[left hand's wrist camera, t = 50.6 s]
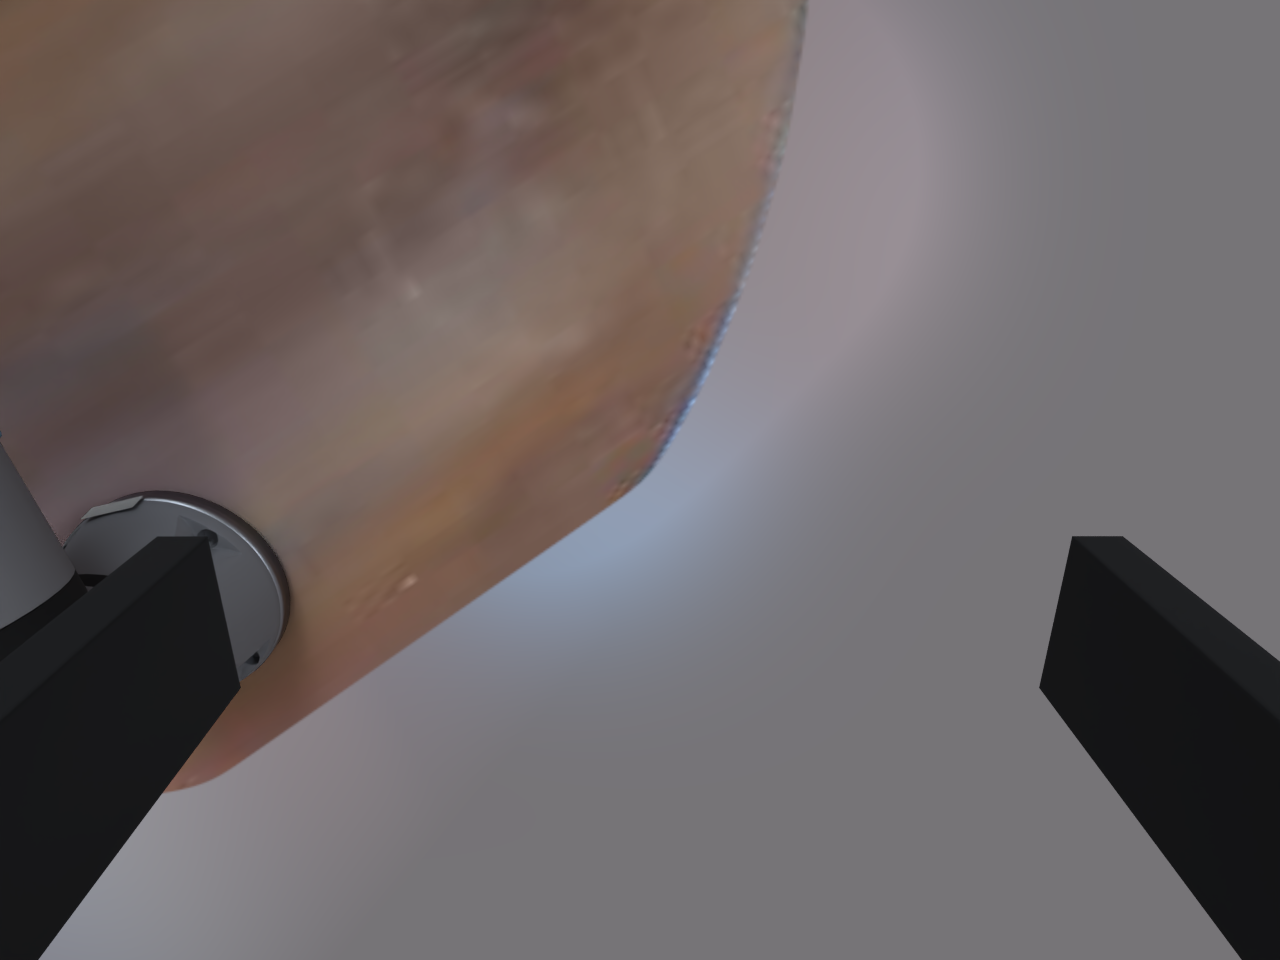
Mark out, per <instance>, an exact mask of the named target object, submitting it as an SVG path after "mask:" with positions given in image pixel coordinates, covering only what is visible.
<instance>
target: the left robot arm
mask: <svg viewBox="0 0 1280 960" xmlns="http://www.w3.org/2000/svg"><path fill="white" fill-rule="evenodd" d="M1 436H2V434H1V431H0V437H1ZM84 518H86V519H85V520H84V521H83V522H82V523H80V524H79V525H78V526H77V528H76V529H75V530H74V531H73V532H72V534H71V535H70V536H69V537H68V539H67V540H66V542H65V543H64V545H63V547H62V546H61V544H60V542H59V541H58V539H57V537H56V535H55V534H54V532H53V530H52V529H51V527H50V525H49V524H48V522H47V520H46V519H45V517H44V515H43V514H42V512H41V510H40V508H39V507H38V505H37V503H36V502H35V500H34V498H33V497H32V495H31V493H30V492H29V490H28V488H27V487H26V485H25V483H24V481H23V480H22V478H21V476H20V475H19V473H18V471H17V470H16V468H15V466H14V465H13V463H12V461H11V460H10V458H9V456H8V454H7V453H6V451H5V449H4V448H3V446H2V444H1V443H0V960H38V959H39V958H40V957H41V955H42V954H43V953H44V951H45V950H46V949H47V947H48V946H49V944H50V943H51V942H52V941H53V939H54V938H55V937H56V935H57V934H58V932H59V931H60V930H61V928H62V927H63V926H64V924H65V923H66V922H67V920H68V919H69V918H70V916H71V915H72V914H73V912H74V911H75V910H76V908H77V907H78V906H79V904H80V903H81V902H82V900H83V899H84V898H85V896H86V895H87V893H88V892H89V891H90V890H91V888H92V887H93V885H94V884H95V883H96V881H97V880H98V879H99V877H100V876H101V875H102V873H103V872H104V871H105V869H106V868H107V867H108V865H109V864H110V863H111V861H112V860H113V859H114V857H115V856H116V855H117V853H118V852H119V851H120V849H121V848H122V847H123V845H124V844H125V842H126V841H127V840H128V838H129V837H130V836H131V834H132V833H133V832H134V830H135V829H136V828H137V826H138V825H139V824H140V822H141V821H142V820H143V818H144V817H145V816H146V814H147V813H148V812H149V810H150V809H151V808H152V806H153V805H154V804H155V802H156V801H157V800H158V798H159V797H160V795H161V794H162V793H163V791H164V790H165V789H166V787H167V786H168V785H169V783H170V782H171V781H172V779H173V778H174V777H175V775H176V774H177V773H178V771H179V770H180V769H181V767H182V766H183V765H184V763H185V762H186V761H187V759H188V758H189V757H190V755H191V754H192V753H193V751H194V750H195V748H196V747H197V746H198V744H199V743H200V742H201V740H202V739H203V738H204V736H205V735H206V734H207V732H208V731H209V730H210V728H211V727H212V726H213V724H214V723H215V722H216V720H217V719H218V718H219V716H220V715H221V714H222V712H223V711H224V710H225V708H226V707H227V706H228V704H229V703H230V701H231V700H232V699H233V697H234V696H235V695H236V693H237V692H238V691H239V689H240V688H241V687H240V681H241V680H243V679H244V678H246V677H247V676H248V675H250V674H251V673H252V672H254V671H255V670H256V669H258V668H259V667H260V666H261V665H262V664H263V663H264V661H265V660H266V659H267V658H268V656H269V655H270V654H271V652H272V651H273V650H274V648H275V647H276V646H277V644H278V643H279V641H280V639H281V638H282V636H283V634H284V631H285V629H286V626H287V623H288V618H289V613H290V595H289V588H288V584H287V580H286V577H285V574H284V571H283V569H282V567H281V565H280V563H279V561H278V559H277V557H276V555H275V554H274V552H273V551H272V549H271V548H270V547H269V545H268V544H267V543H266V541H265V540H264V539H263V538H262V537H261V536H260V535H259V534H258V533H257V532H256V531H255V530H254V529H253V528H252V527H251V526H250V525H249V524H247V523H246V522H245V521H244V520H242V519H241V518H240V517H238V516H237V515H235V514H234V513H232V512H231V511H229V510H227V509H225V508H224V507H222V506H220V505H217V504H215V503H213V502H211V501H208V500H205V499H203V498H200V497H196V496H193V495H189V494H184V493H179V492H171V491H147V492H140V493H135V494H131V495H127V496H124V497H122V498H119V499H116V500H114V501H113V502H111V503H109V504H105V505H100V506H96V507H92V508H91V509H90V510H89V511H88V512H87V513H86V514H85V515H84V516H83V517H82V518H81V519H84ZM1039 688H1040V689H1041V691H1042V692H1043V693H1044V695H1045V696H1046V697H1047V699H1048V700H1049V701H1050V703H1051V704H1052V706H1053V707H1054V708H1055V710H1056V711H1057V712H1058V714H1059V715H1060V716H1061V718H1062V719H1063V720H1064V722H1065V723H1066V724H1067V726H1068V727H1069V728H1070V730H1071V731H1072V732H1073V734H1074V735H1075V736H1076V738H1077V739H1078V740H1079V742H1080V743H1081V744H1082V746H1083V747H1084V748H1085V750H1086V751H1087V753H1088V754H1089V755H1090V756H1091V758H1092V759H1093V760H1094V762H1095V763H1096V765H1097V766H1098V767H1099V769H1100V770H1101V771H1102V773H1103V774H1104V775H1105V777H1106V778H1107V779H1108V781H1109V782H1110V783H1111V785H1112V786H1113V787H1114V789H1115V790H1116V791H1117V793H1118V794H1119V795H1120V797H1121V798H1122V799H1123V801H1124V802H1125V803H1126V805H1127V806H1128V808H1129V809H1130V810H1131V812H1132V813H1133V814H1134V816H1135V817H1136V818H1137V820H1138V821H1139V822H1140V824H1141V825H1142V826H1143V828H1144V829H1145V830H1146V832H1147V833H1148V834H1149V836H1150V837H1151V838H1152V840H1153V841H1154V842H1155V844H1156V845H1157V846H1158V848H1159V849H1160V851H1161V852H1162V853H1163V855H1164V856H1165V857H1166V859H1167V860H1168V861H1169V863H1170V864H1171V865H1172V867H1173V868H1174V869H1175V871H1176V872H1177V873H1178V875H1179V876H1180V877H1181V879H1182V880H1183V881H1184V883H1185V884H1186V885H1187V887H1188V888H1189V890H1190V891H1191V892H1192V893H1193V895H1194V896H1195V897H1196V899H1197V900H1198V902H1199V903H1200V904H1201V906H1202V907H1203V908H1204V910H1205V911H1206V912H1207V914H1208V915H1209V916H1210V918H1211V919H1212V920H1213V922H1214V923H1215V924H1216V926H1217V927H1218V928H1219V930H1220V931H1221V932H1222V934H1223V935H1224V937H1225V938H1226V939H1227V941H1228V942H1229V943H1230V945H1231V946H1232V947H1233V949H1234V950H1235V951H1236V953H1237V954H1238V955H1239V957H1240V958H1241V959H1242V960H1280V661H1278V660H1277V659H1276V658H1275V657H1273V656H1272V655H1271V654H1270V653H1268V652H1267V651H1266V650H1265V649H1263V648H1262V647H1261V646H1260V645H1258V644H1257V643H1256V642H1255V641H1253V640H1252V639H1251V638H1250V637H1248V636H1247V635H1246V634H1245V633H1243V632H1242V631H1241V630H1240V629H1238V628H1237V627H1236V626H1235V625H1233V624H1232V623H1231V622H1229V621H1228V620H1227V619H1226V618H1224V617H1223V616H1222V615H1221V614H1219V613H1218V612H1217V611H1216V610H1214V609H1213V608H1212V607H1211V606H1209V605H1208V604H1207V603H1206V602H1204V601H1203V600H1202V599H1201V598H1199V597H1198V596H1197V595H1196V594H1194V593H1193V592H1192V591H1191V590H1189V589H1188V588H1187V587H1186V586H1184V585H1183V584H1182V583H1181V582H1179V581H1178V580H1177V579H1176V578H1174V577H1173V576H1172V575H1171V574H1169V573H1168V572H1167V571H1166V570H1164V569H1163V568H1162V567H1160V566H1159V565H1158V564H1157V563H1155V562H1154V561H1153V560H1152V559H1150V558H1149V557H1148V556H1147V555H1145V554H1144V553H1143V552H1142V551H1140V550H1139V549H1138V548H1137V547H1135V546H1134V545H1133V544H1132V543H1130V542H1129V541H1128V540H1127V539H1125V538H1124V537H1123V536H1072V540H1071V545H1070V549H1069V554H1068V559H1067V563H1066V568H1065V572H1064V577H1063V582H1062V586H1061V591H1060V595H1059V600H1058V604H1057V609H1056V613H1055V618H1054V623H1053V627H1052V632H1051V636H1050V641H1049V646H1048V650H1047V655H1046V659H1045V664H1044V669H1043V673H1042V678H1041V682H1040V687H1039Z"/></svg>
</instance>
